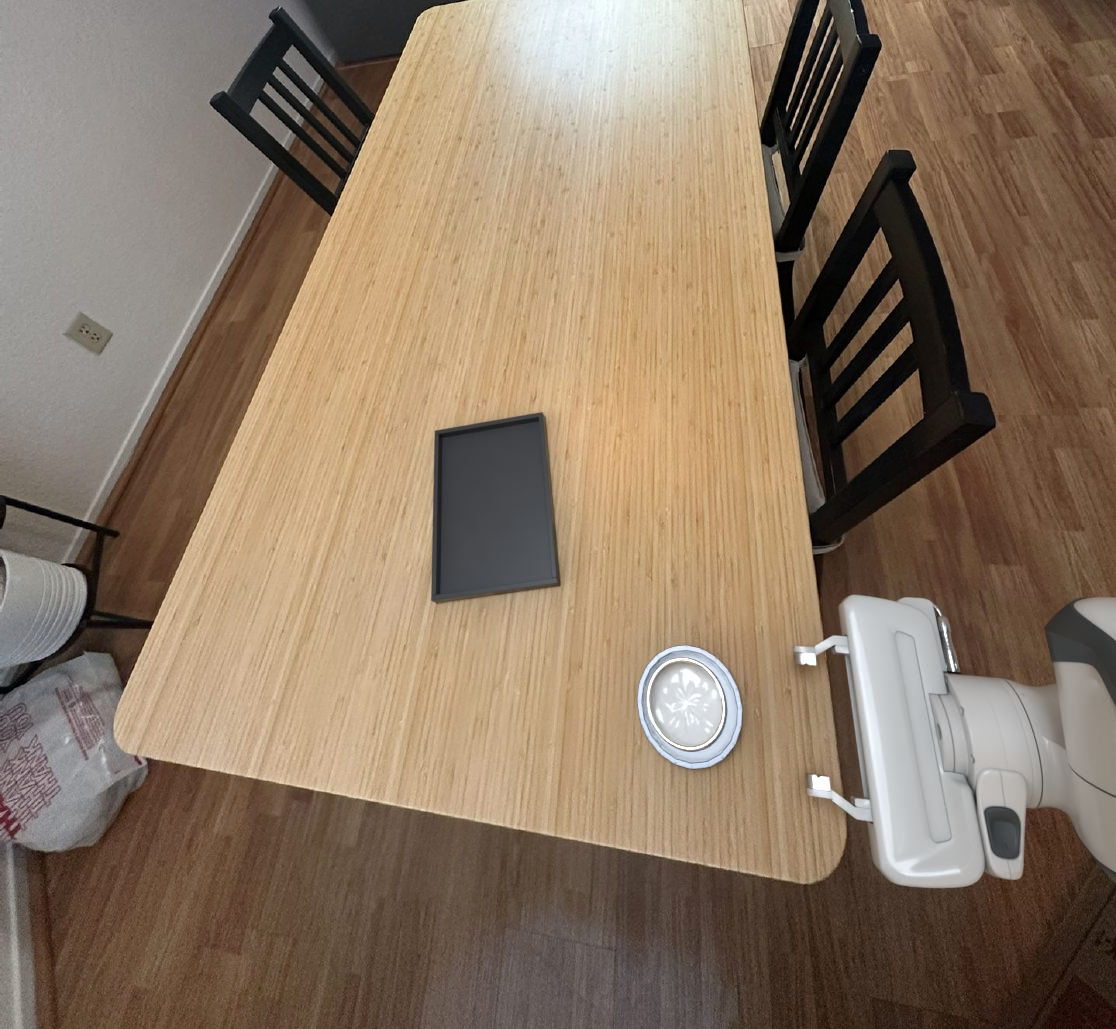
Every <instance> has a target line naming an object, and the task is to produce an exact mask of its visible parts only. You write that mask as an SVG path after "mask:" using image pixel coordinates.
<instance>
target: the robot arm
mask: <svg viewBox="0 0 1116 1029" xmlns="http://www.w3.org/2000/svg"><path fill="white" fill-rule="evenodd" d="M837 610H838V611H837V612H838V617H839V626H840V632H841V635H835V634H832V635H831V636H830V637H827V638H826V639H824V640H822V641H821V642H819V643H817V644H815V645H814V646H805V645H793V646H792V653H793V663H794V666H806V667H812V668H815V667H817V656H818V655H820V654H821V653H824V652H825V651H827V650H828V649H831V654H832V655H836V656H843V657H844V662H845V669H846V676H847V684H848V685H847V686H848V690H849V699H850V706H851V713H852V721H853V728H854V735H855V743H856V750H857V758H858V766H859V773H860V780H861V787H862V794H863V796H860V795H859V796H857V795H850V798H849V801H850V802H849V801H848V800H847V799H845V798H844V797H843V796H841V795H840V794H838V792H836V791H834V790H833V789H832V788H831V779H830V776H828V775H826V774H819V773H818V774H815V773H812V772H811V773H810V772H805V773H804V775H805V777H804V778H805V788H806V795H807V796H809V797H810V796H811V797H814V798H821V799H828V800H830V801H831V802H833V804H835V805H837V806H838V807H839V808H841V809H842V810H843V811H844V812H846V813H847V814H848V815H850V816H851V817H853V819H855V820H857V821H862V822H863V821H864V822H866V824H867V831H868V838H869V846H870V853H871V860H872V862H873V865H874V866H875V867H876V868H877V870H878V871H879V873H881V874H882V876H884V878H885V879H886V880H888V881H889V882H890V883H893V884H895V885H898V886H903V887H904V886H905V887H911V888H922V889H924V888H925V889H956V888H957V889H958V888H964V887H968V886H971V885H974V884H975V883H977V882H978V881H979V880H980V879H981V878H982V876H983V874H984V873H986V874H988V875H990V876H992V877H995V878H999V879H1002V880H1009V881H1014V880H1019V879H1021V878H1022V876H1023V873H1024V867H1025V866H1024V865H1025V864H1024V863H1025V861H1024V860H1025V835H1026V834H1025V833H1026V816H1027V809H1032V810H1036V809H1043V808H1044V809H1045V808H1053V809H1057V810H1060V811H1062V812H1063V813H1065V814H1066V815H1067V816H1068V818H1069V819H1070V821H1071V823H1072V828H1073V831H1074V834H1075V835H1076V837H1077V838H1078V840H1079V841H1080V843H1081V844H1082V845H1083V847H1084V848H1085V849H1086V851H1087V852H1088V854H1089V855H1090V856H1091V857H1092V858H1093V860H1094V861H1095V863H1096V864H1097V865H1098V866H1099V867H1100V868H1101V869H1102V871H1103V872H1104V873H1105V874H1106V876H1107V877H1109V878H1110V880H1111V881H1112V882H1113V883H1114V884H1115V885H1116V596H1115V597H1113V596H1086V597H1079V598H1075V599H1073V600H1071V601H1070V602H1068V603H1067V604H1065V605H1064V606H1063V607H1062V608H1060V609H1059V610H1058V611H1057V612H1056V613H1055V614H1054V615H1053V616H1052V617H1051V618H1050V619H1049V621H1048V622H1047V623H1046V624H1045V626H1044V627H1043V631H1044V634H1045V638H1046V643H1047V647H1048V653H1049V656H1050V662H1051V663H1052V664H1053V670H1054V676H1055V683H1050V684H1045V685H1040V686H1039V685H1038V686H1036V685H1035V686H1034V685H1033V686H1032V685H1026V684H1022V683H1020V682H1017V681H1014V680H1012V679H1008V678H1004V677H992V676H982V675H971V674H963V673H962V671H961V667H960V663H959V659H958V654H957V651H956V647H955V645H954V643H953V638H952V627H951V623H950V620H949V618H948V617H947V616H944V614H943V611H942V610H941V609H940V608H939V606H938V605H937V604H935V603H934V602H933V601H932V600H930V599H929V598H925V597H919V596H901V597H899V598H897V599H896V600H891V599H887V598H882V597H876V596H871V595H864V594H863V595H862V594H850V595H848V596H846V597H845V598H844V599H842V601H841V602H840V603H839V605H838V608H837ZM936 615H937V616H936Z"/></svg>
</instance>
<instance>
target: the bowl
mask: <svg viewBox="0 0 1116 1029" xmlns="http://www.w3.org/2000/svg"><path fill="white" fill-rule="evenodd" d="M677 657H687V658H692V659H695V660H697V661H700V662H701V663H703V664H705V665H706V666H707V667H708V668H710V669H711V670H712V671H713V673H714V674H715V675H716V676H717V678H718V679H719V681H720V683H721V685H722V687H723V689H724V692H725V695H726V700H727V720H726V724H725V728H724V730H723V732H722V734H721V736H720V737H719V739H718V740H717V741H716V742H715V743H714V744H713V745H711V746H710V747H708V748H707V749H704V750H702V751H698V752H685V751H681V750H678V749H676V748H674V747H672V746H671V745H669V744H668V743H667V742H665V741H664V740H663V739H662V738H661V737H660V735H659V734H658V733H657V731H656V730H655V728H654V727H653V725H652V723H651V720H650V718H649V714H648V710H647V703H646V695H647V688H648V684H649V681H650V679H651V677H652V675H653V673H654V672H655V670H656V669H657V668H658V667H659V666H660V665H661V664H663V663H664V662H666V661H667V660H670V659H673V658H677ZM637 687H638V688H637V696H636V705H637V712H638V720H639V723H640V725H641V727H642V730H643V732H644V735H645V738H646V739H647V740H648V742H649V743H650V744H651V745H652V746H653V748H654V750H656V752H657V754H659V755H660V756H661V757H662V758H664V759H666V761H669V762H670V763H671V764H673V765H675V766H678V767H680V768H684V769H688V770H692V771H693V770H704V769H709V768H712V767H713V766H715V765H717V764H719V763H720V762H722V761H724V760H725V759H726V758H727V756H728V755H729V754H730V753H731V751H733V749H734V748H735V747H736V745H737V742H738V740H739V737H740V734H741V731H742V728H743V710H744V708H743V704H742V699H741V694H740V690H739V687H738V685H737V682H736V681H735V679H734V677H733V675H732V674H731V672H730V669H728V668H727V666H726V665H724V663H723V662H722V661H721V660H720V659H719V658H718V657H717V656H716V655H714V654H712V653H711V652H709V651H707V650H706V649H705V648H704V649H703V648H702V647H698V646H693V645H689V644H681V645H673V646H670V647H668V648H666V649H663V650H661V651H660V652H658V653H656V654H655V655H654V657H653V658H652V659H651V660H650V661H649V662H648V663H647V664H646V665H645V668H644V670H643V672H642V675H641V676H640V679H639V681H638V686H637Z"/></svg>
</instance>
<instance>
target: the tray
mask: <svg viewBox="0 0 1116 1029" xmlns="http://www.w3.org/2000/svg"><path fill="white" fill-rule="evenodd" d="M546 420H547V419H546V416H545V414H544V412H543V411H541V412H535V413H528V414H523V415H518V416H517V415H516V416H512V417H507V418H499V419H494V420H489V421H482V422H477V423H471V424H470V423H469V424H465V425H459V426H453V427H448V428H442V429H441V428H440V429H436V430H434V437H433V438H434V440H433V441H434V442H433V443H434V444H433V445H434V446H433V492H432V537H431V538H432V540H431V541H432V542H431V544H432V545H431V586H430V588H431V591H430V592H431V593H430V601H431V602H432V603H436V604H442V603H448V602H455V601H462V600H470V599H477V598H485V597H491V596H497V595H504V594H512V593H519V592H526V591H532V590H533V591H534V590H540V589H546V588H547V589H549V588H554V587H561V575H560V564H559V552H558V543H557V542H558V541H557V533H556V532H557V531H556V520H555V509H554V497H553V487H552V475H551V474H552V473H551V465H550V464H551V463H550V453H549V452H550V451H549V442H548V441H549V440H548V432H547V430H548V429H547V421H546Z"/></svg>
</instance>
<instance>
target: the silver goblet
mask: <svg viewBox="0 0 1116 1029" xmlns="http://www.w3.org/2000/svg"><path fill="white" fill-rule="evenodd" d="M646 703H647V710H648V714H649V718H650V720H651V723H652V725H653V727H654V728H655V730H656V731H657V733H658V734H659V735H660V737H661V738H662V739H663V740H664V741H665V742H667V743H668V744H669V745H671V746H672V747H674V748H676V749H678V750H681V751H685V752H698V751H702V750H704V749H707V748H708V747H710V746H711V745H713V744H714V743H715V742H716V741H717V740H718V739H719V737H720V736H721V734H722V732H723V730H724V728H725V724H726V720H727V700H726V695H725V692H724V689H723V687H722V685H721V683H720V681H719V679H718V678H717V676H716V675H715V674H714V673H713V671H712V670H711V669H710V668H708V667H707V666H706V665H705V664H703V663H701V662H700V661H697V660H695V659H692V658H687V657H677V658H673V659H670V660H667V661H666V662H664V663H663V664H661V665H660V666H659V667H658V668H657V669H656V670H655V672H654V673H653V675H652V677H651V679H650V681H649V684H648V688H647V695H646Z"/></svg>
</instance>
